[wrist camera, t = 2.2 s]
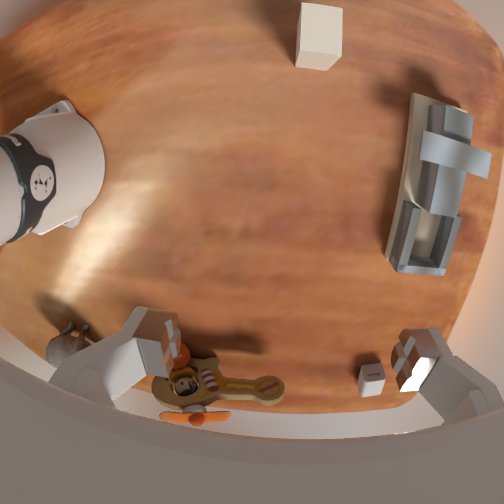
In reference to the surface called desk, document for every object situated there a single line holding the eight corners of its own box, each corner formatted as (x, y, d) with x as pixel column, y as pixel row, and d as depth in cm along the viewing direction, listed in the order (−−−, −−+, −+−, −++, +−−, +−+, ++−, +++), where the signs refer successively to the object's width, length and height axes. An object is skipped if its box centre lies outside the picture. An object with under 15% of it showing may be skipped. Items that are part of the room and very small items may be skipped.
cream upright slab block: (295, 66, 26) (299, 50, 19) (297, 28, 24) (301, 2, 17) (326, 70, 26) (341, 56, 19) (328, 32, 24) (342, 8, 16)
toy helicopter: (159, 339, 45) (129, 402, 33) (285, 345, 43) (284, 419, 31) (170, 370, 49) (148, 430, 36) (284, 377, 46) (282, 445, 34)
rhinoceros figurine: (38, 313, 44) (37, 374, 33) (98, 302, 50) (109, 361, 40) (50, 339, 48) (54, 397, 37) (105, 328, 54) (119, 385, 44)
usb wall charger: (381, 362, 43) (386, 379, 40) (374, 386, 46) (378, 402, 43) (360, 365, 44) (364, 382, 40) (355, 388, 47) (358, 405, 43)
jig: (377, 255, 35) (391, 279, 29) (403, 91, 25) (426, 87, 20) (437, 261, 34) (456, 283, 29) (467, 113, 25) (495, 116, 20)
